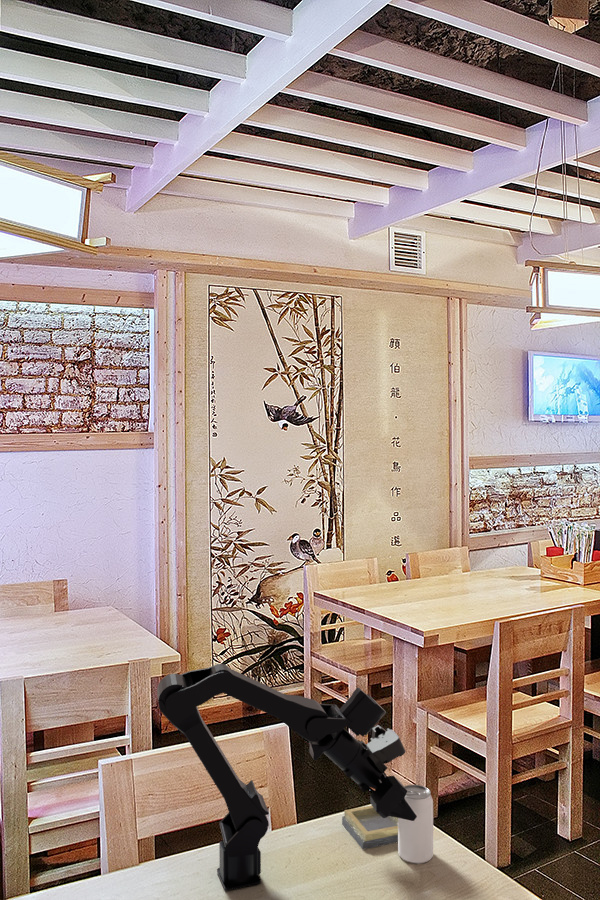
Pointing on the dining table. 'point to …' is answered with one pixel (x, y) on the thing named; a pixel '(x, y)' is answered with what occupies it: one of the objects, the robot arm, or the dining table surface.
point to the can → (417, 827)
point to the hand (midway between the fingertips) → (405, 806)
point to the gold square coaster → (370, 827)
